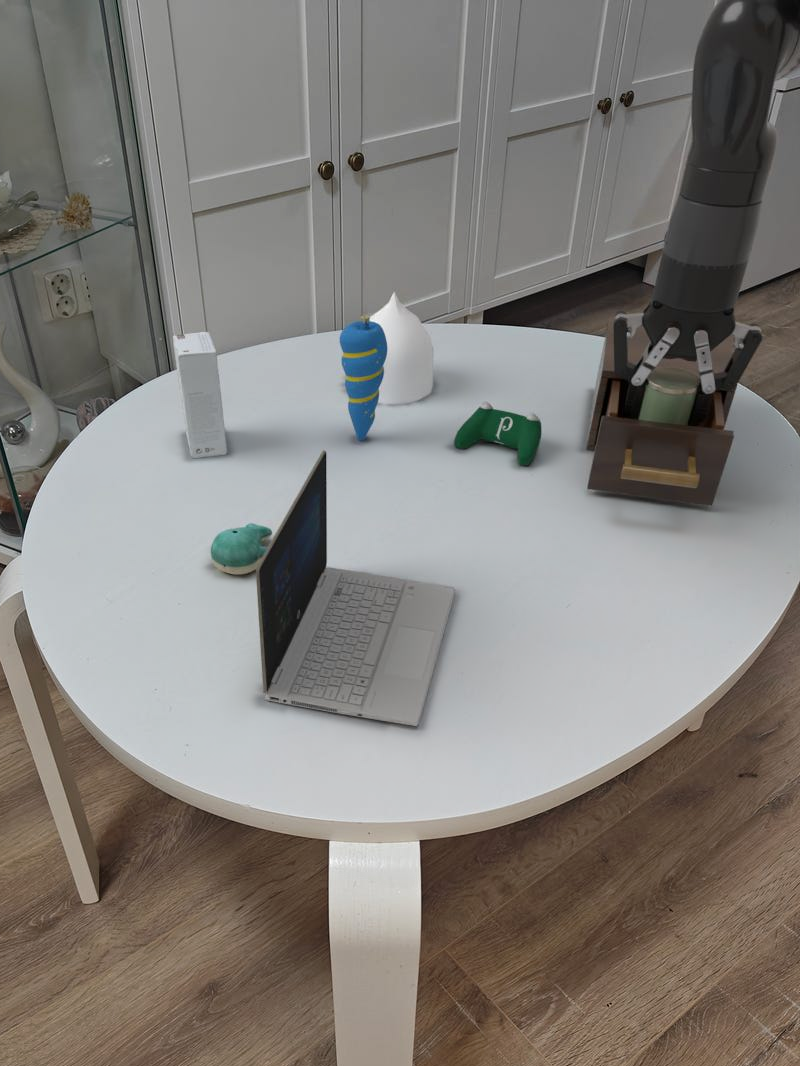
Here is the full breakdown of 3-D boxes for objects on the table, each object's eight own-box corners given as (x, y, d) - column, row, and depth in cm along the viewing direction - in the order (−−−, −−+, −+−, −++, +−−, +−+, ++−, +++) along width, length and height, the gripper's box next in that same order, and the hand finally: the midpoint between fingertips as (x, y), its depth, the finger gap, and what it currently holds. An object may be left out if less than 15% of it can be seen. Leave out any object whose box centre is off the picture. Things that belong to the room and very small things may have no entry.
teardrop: (367, 362, 122) (370, 270, 114) (445, 376, 118) (453, 283, 110) (332, 394, 114) (332, 298, 106) (414, 411, 110) (420, 313, 103)
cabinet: (712, 467, 100) (737, 384, 93) (585, 451, 103) (602, 370, 96) (707, 405, 111) (729, 328, 105) (593, 392, 114) (609, 317, 108)
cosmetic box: (228, 455, 102) (220, 351, 95) (189, 460, 102) (177, 356, 94) (221, 430, 107) (212, 329, 99) (183, 434, 106) (171, 333, 98)
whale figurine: (198, 569, 86) (194, 536, 83) (237, 531, 91) (234, 498, 88) (251, 586, 84) (249, 552, 81) (288, 545, 89) (287, 512, 86)
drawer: (713, 531, 88) (737, 460, 83) (583, 513, 91) (598, 443, 86) (707, 440, 102) (726, 374, 97) (594, 426, 105) (608, 362, 100)
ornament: (334, 447, 104) (335, 317, 94) (344, 427, 107) (345, 300, 98) (378, 452, 103) (384, 322, 93) (387, 431, 106) (393, 304, 97)
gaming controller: (533, 474, 102) (552, 425, 102) (527, 463, 99) (547, 412, 99) (458, 454, 106) (476, 407, 106) (450, 443, 102) (469, 393, 102)
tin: (687, 415, 95) (700, 369, 92) (688, 438, 91) (702, 392, 88) (634, 408, 96) (645, 363, 93) (633, 431, 92) (644, 385, 89)
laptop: (417, 731, 69) (429, 597, 61) (262, 701, 72) (252, 568, 63) (455, 593, 82) (469, 467, 74) (322, 572, 85) (321, 447, 77)
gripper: (624, 255, 81) (589, 427, 92) (795, 269, 78) (738, 445, 89) (626, 231, 87) (593, 396, 98) (786, 243, 84) (733, 412, 95)
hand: (662, 419), depth 94 cm, fingers closed on tin, 5 cm apart
